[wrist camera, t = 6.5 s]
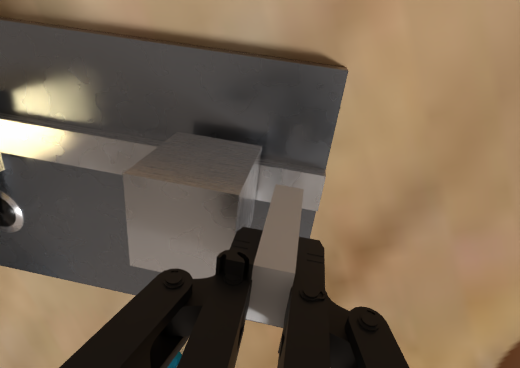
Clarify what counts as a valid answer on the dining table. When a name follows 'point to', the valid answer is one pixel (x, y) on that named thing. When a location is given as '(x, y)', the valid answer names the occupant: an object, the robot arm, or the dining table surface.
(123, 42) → the plate
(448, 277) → the dining table surface
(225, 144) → the block
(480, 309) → the dining table surface
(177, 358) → the gear
